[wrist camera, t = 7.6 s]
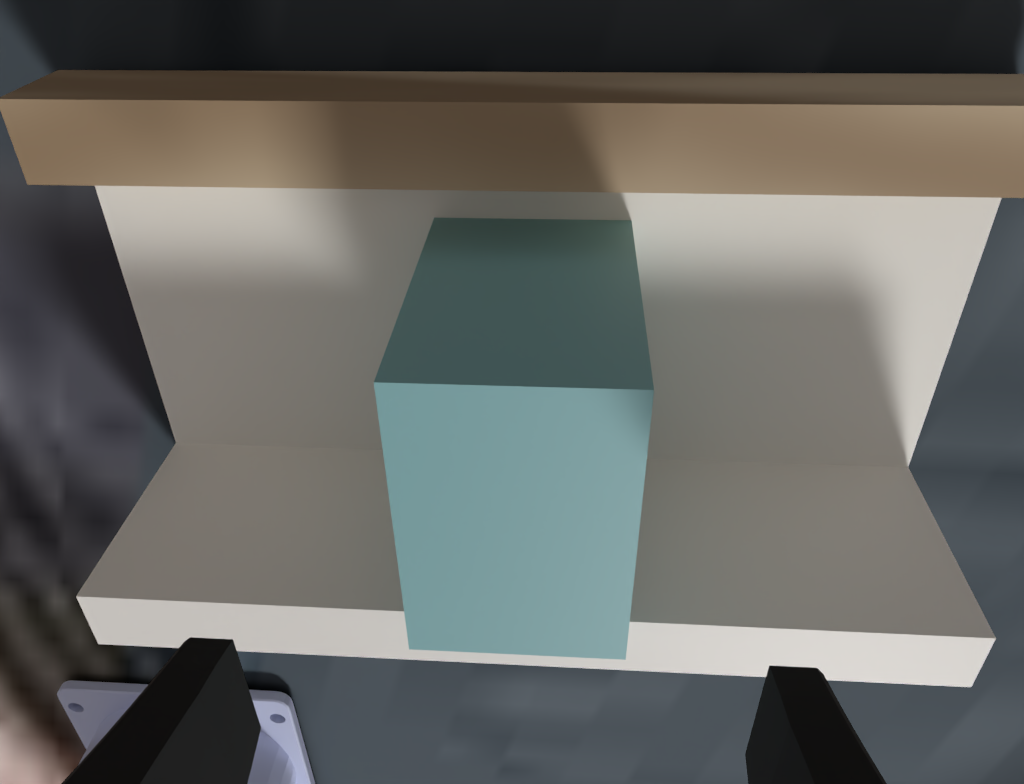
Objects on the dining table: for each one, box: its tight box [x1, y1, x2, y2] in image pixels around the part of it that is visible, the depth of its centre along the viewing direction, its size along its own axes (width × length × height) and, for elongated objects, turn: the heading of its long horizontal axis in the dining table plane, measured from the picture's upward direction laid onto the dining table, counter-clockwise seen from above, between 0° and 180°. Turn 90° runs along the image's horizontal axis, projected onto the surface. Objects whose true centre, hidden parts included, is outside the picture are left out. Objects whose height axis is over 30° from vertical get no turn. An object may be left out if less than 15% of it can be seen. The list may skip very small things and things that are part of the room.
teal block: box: [374, 218, 654, 660], centre depth 16 cm, size 6×4×6 cm, turn 1°
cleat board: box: [0, 70, 1024, 687], centre depth 16 cm, size 11×18×6 cm, turn 91°
